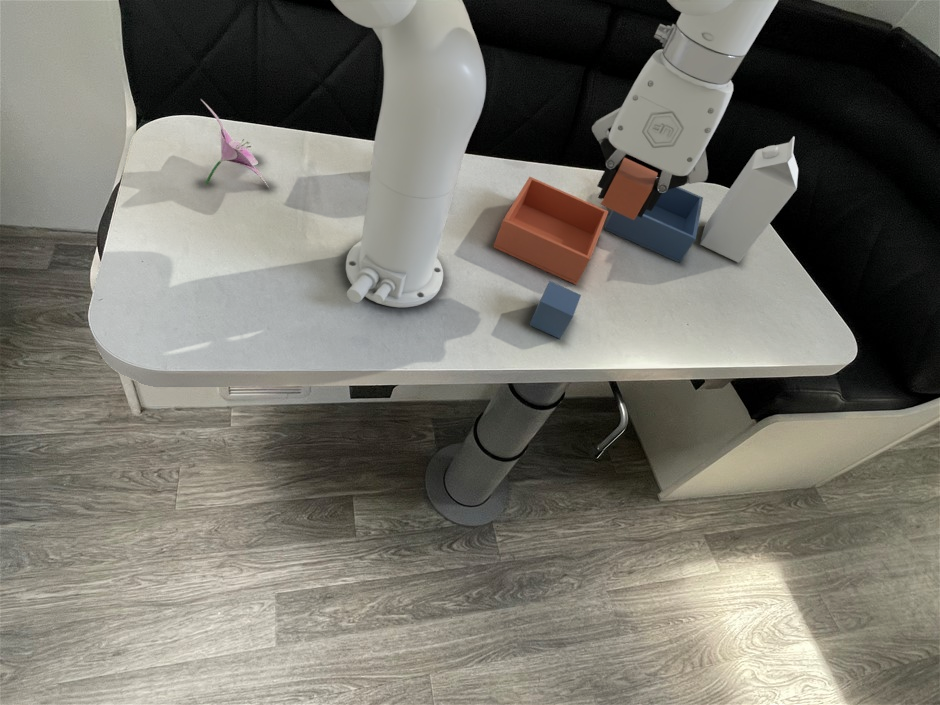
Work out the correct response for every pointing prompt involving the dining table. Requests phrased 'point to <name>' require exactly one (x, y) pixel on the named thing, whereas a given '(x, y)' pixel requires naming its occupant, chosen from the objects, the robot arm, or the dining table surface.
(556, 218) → the terracotta bin
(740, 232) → the milk carton
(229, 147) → the lily
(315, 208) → the dining table surface
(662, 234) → the slate bin
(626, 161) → the terracotta block
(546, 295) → the slate block
